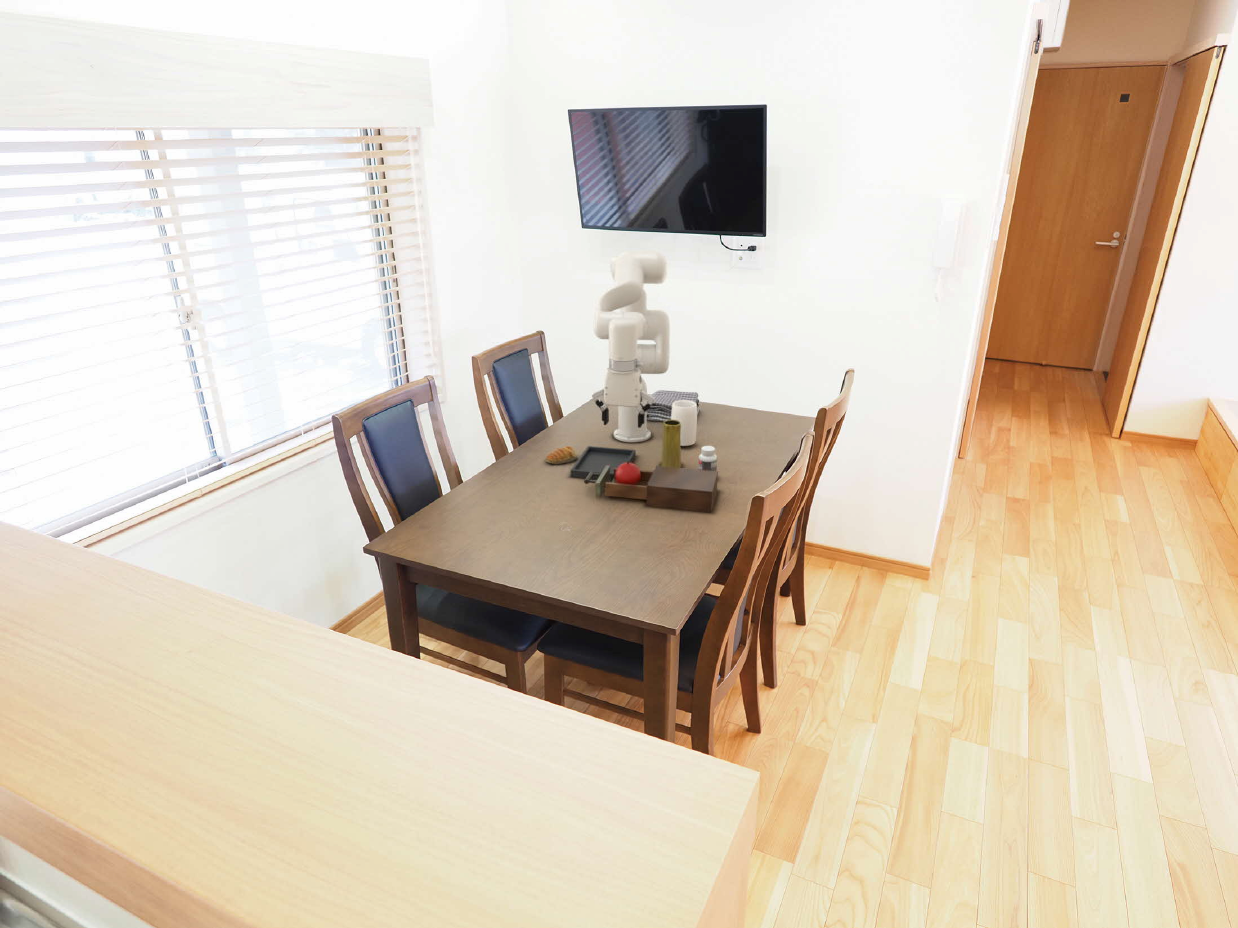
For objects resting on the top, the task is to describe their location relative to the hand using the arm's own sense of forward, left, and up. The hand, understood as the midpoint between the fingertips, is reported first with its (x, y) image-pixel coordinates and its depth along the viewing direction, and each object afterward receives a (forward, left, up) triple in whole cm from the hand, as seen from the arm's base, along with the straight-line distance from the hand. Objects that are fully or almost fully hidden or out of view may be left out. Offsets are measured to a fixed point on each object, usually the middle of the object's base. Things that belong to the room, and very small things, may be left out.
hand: (623, 424), depth 217 cm
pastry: (-18, -24, -21) cm, 36 cm away
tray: (-16, -10, -21) cm, 28 cm away
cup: (-39, +11, -21) cm, 46 cm away
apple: (+1, +2, -18) cm, 18 cm away
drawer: (+1, 0, -20) cm, 20 cm away
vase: (-21, +10, -21) cm, 31 cm away
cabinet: (+1, +17, -21) cm, 27 cm away
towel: (-65, +3, -21) cm, 69 cm away
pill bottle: (-14, +22, -21) cm, 33 cm away
